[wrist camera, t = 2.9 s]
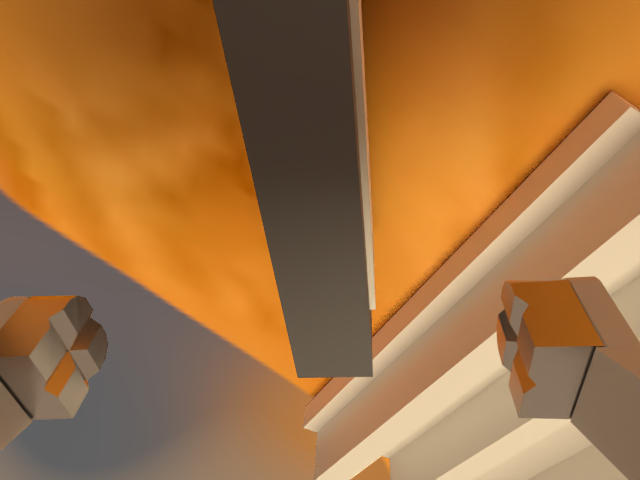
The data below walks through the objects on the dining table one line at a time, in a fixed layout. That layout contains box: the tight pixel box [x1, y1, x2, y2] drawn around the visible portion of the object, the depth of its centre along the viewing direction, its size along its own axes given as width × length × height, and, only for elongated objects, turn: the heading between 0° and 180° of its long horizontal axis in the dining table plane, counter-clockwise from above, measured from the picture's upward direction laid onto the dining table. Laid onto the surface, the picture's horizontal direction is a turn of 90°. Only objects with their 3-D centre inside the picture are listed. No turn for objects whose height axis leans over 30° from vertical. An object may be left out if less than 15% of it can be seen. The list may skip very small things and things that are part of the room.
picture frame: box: [212, 0, 376, 378], centre depth 15 cm, size 14×3×8 cm, turn 6°
